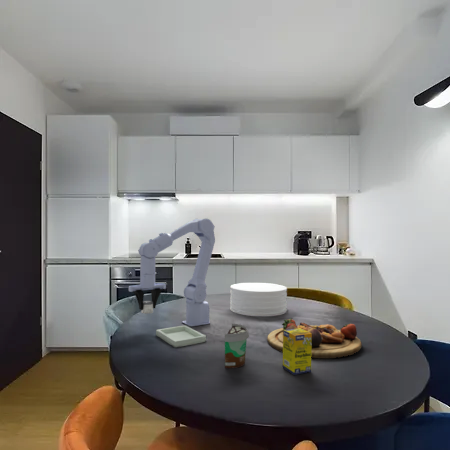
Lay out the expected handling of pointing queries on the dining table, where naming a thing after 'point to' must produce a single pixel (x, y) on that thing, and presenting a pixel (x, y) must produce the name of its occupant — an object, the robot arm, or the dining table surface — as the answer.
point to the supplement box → (297, 351)
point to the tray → (180, 336)
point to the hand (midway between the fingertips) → (147, 308)
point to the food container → (235, 346)
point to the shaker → (147, 307)
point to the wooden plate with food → (322, 339)
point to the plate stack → (258, 299)
